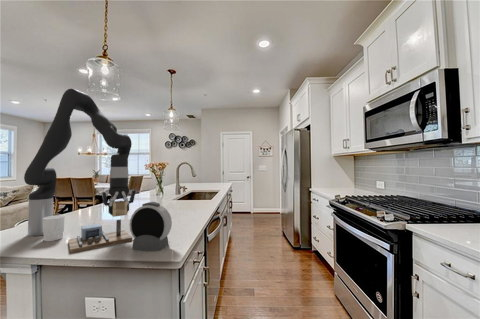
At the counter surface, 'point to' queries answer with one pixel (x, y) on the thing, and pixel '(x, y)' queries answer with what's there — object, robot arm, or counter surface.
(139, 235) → the alarm clock
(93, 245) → the jig board
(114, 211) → the collar
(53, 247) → the counter surface
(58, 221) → the white cup
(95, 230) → the block
